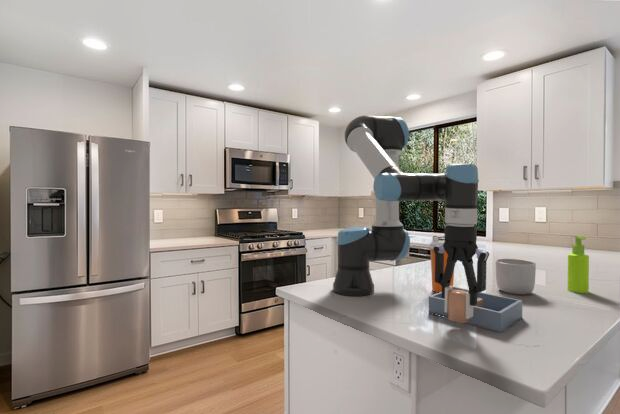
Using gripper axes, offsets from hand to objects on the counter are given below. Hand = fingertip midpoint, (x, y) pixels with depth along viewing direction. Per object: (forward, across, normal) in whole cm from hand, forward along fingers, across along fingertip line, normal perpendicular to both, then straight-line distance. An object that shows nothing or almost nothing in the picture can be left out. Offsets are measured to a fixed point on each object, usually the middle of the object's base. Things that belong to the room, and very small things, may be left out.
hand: (458, 313), depth 86 cm
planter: (+5, -2, +49) cm, 49 cm away
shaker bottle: (+5, -20, +31) cm, 37 cm away
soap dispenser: (+5, +13, +66) cm, 67 cm away
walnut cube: (+3, -1, +9) cm, 10 cm away
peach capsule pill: (+1, 0, 0) cm, 1 cm away
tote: (+4, -1, +13) cm, 13 cm away
